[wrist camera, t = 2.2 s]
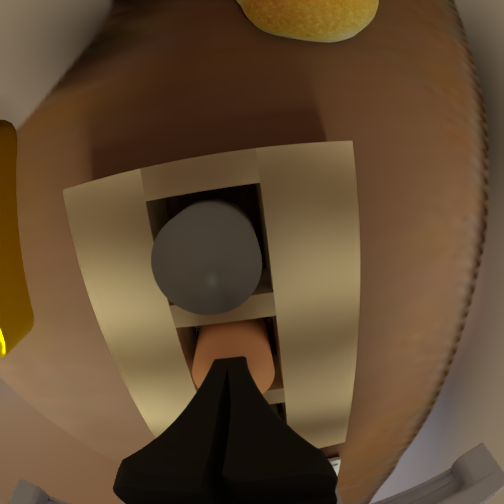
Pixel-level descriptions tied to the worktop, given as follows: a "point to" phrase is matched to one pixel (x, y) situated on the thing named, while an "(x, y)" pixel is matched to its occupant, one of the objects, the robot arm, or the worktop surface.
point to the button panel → (262, 299)
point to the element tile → (11, 251)
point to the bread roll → (311, 17)
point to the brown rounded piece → (235, 349)
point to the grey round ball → (207, 257)
